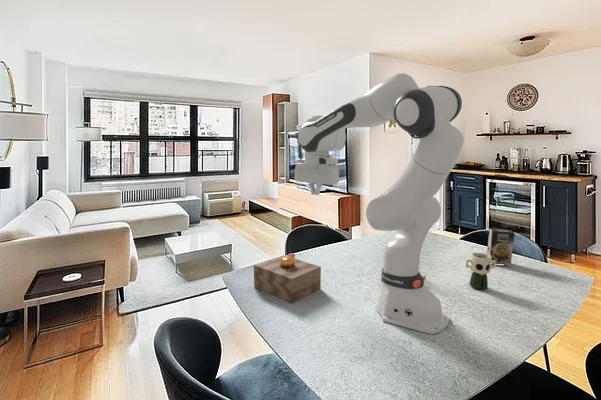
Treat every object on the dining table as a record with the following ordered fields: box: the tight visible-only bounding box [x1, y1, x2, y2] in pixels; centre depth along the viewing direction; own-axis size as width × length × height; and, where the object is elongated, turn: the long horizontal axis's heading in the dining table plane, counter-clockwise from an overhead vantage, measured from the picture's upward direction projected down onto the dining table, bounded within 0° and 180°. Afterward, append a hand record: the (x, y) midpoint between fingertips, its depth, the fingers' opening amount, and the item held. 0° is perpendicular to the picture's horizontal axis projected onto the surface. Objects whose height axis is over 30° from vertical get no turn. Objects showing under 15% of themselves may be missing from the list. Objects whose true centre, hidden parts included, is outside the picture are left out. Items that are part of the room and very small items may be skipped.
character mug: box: [465, 252, 496, 290], centre depth 131 cm, size 11×7×13 cm, turn 85°
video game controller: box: [286, 252, 296, 258], centre depth 154 cm, size 10×5×7 cm, turn 170°
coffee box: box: [486, 227, 515, 265], centre depth 158 cm, size 9×6×16 cm
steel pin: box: [280, 255, 296, 269], centre depth 130 cm, size 6×6×12 cm
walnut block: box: [253, 254, 322, 304], centre depth 130 cm, size 20×16×9 cm
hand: (315, 194), depth 134 cm, fingers closed
